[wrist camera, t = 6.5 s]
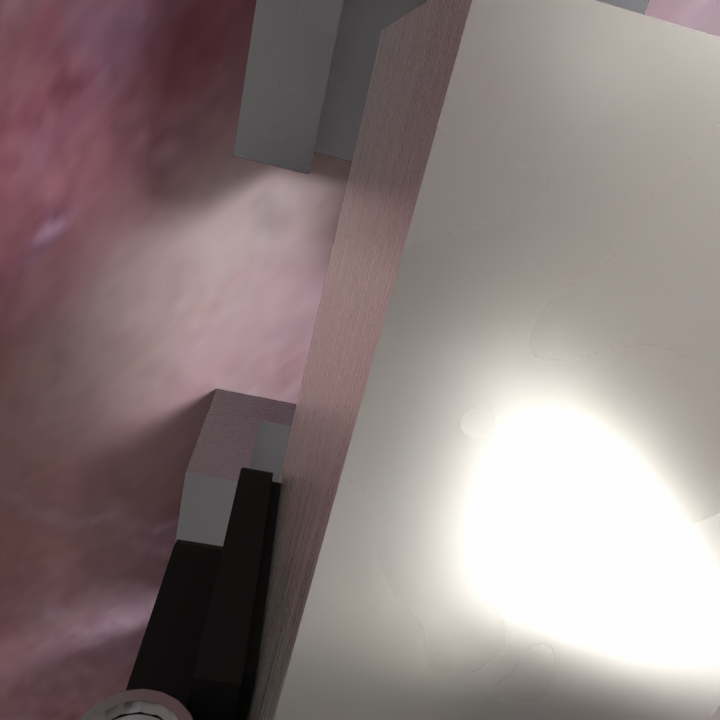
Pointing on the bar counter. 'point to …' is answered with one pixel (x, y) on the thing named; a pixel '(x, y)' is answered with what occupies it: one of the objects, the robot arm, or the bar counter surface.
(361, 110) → the grey u-bracket pair
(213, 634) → the robot arm
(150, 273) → the bar counter surface
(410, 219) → the link bar
